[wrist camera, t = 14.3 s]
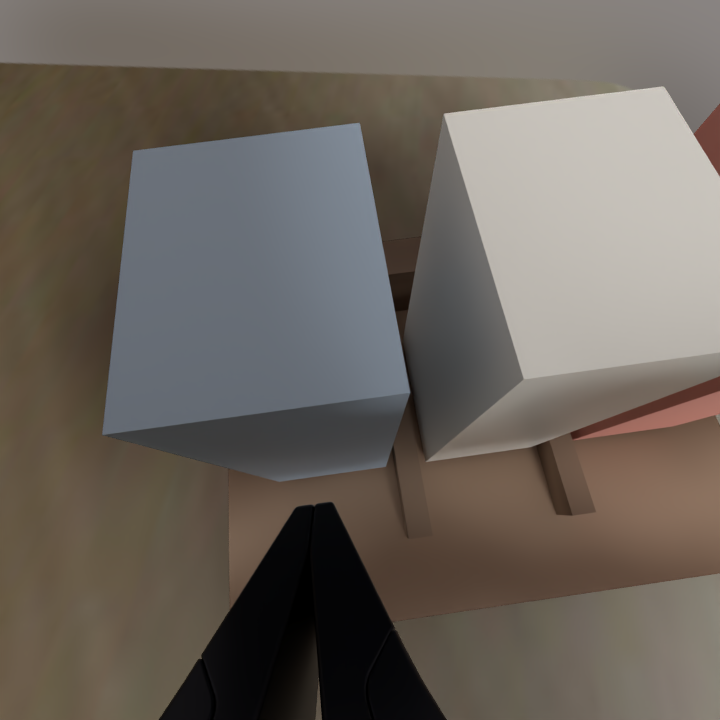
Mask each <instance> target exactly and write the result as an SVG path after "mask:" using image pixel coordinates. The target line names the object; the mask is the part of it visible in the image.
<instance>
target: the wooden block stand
mask: <svg viewBox="0 0 720 720" xmlns="http://www.w3.org/2000/svg"><path fill="white" fill-rule="evenodd" d="M420 242H421V237H414V238H406V239H398V240H391V241H383V242H382V244H383V250H384V255H385V261H386V266H387V271H388V277H389V282H390V287H391V293H392V298H393V303H394V309H395V314H396V319H397V325H398V330H399V335H400V341H401V346H402V351H403V357H404V362H405V367H406V373H407V378H408V383H409V389H410V395H409V398H408V401H407V404H406V407H405V410H404V413H403V416H402V419H401V422H400V425H399V428H398V431H397V434H396V437H395V440H394V443H393V446H392V449H391V452H390V455H389V458H388V461H387V464H386V467H381V468H374V469H367V470H359V471H352V472H345V473H338V474H331V475H324V476H317V477H310V478H303V479H296V480H288V481H281V482H278V481H274V480H271V479H267V478H263V477H259V476H255V475H252V474H248V473H244V472H240V471H237V470H233V469H229V468H228V486H229V598H230V609H231V608H232V606H233V604H234V603H235V601H236V600H237V598H238V597H239V595H240V593H241V592H242V590H243V589H244V587H245V586H246V584H247V582H248V581H249V579H250V578H251V576H252V575H253V573H254V571H255V570H256V568H257V567H258V565H259V564H260V562H261V560H262V559H263V557H264V556H265V554H266V553H267V551H268V549H269V548H270V546H271V545H272V543H273V542H274V540H275V538H276V537H277V535H278V534H279V532H280V531H281V529H282V527H283V526H284V524H285V523H286V521H287V520H288V518H289V516H290V515H291V513H292V512H293V510H294V509H295V508H296V507H297V506H302V505H309V504H312V505H314V506H315V505H316V504H317V503H324V502H333V503H334V505H335V507H336V509H337V511H338V513H339V515H340V517H341V519H342V521H343V523H344V525H345V527H346V529H347V531H348V533H349V535H350V537H351V539H352V541H353V544H354V546H355V548H356V550H357V552H358V554H359V556H360V558H361V560H362V562H363V564H364V566H365V568H366V570H367V572H368V574H369V576H370V578H371V580H372V582H373V584H374V586H375V588H376V590H377V592H378V594H379V596H380V598H381V600H382V602H383V604H384V606H385V609H386V611H387V613H388V615H389V617H390V619H391V621H392V622H395V621H402V620H408V619H415V618H422V617H429V616H435V615H442V614H449V613H456V612H462V611H469V610H476V609H482V608H489V607H496V606H503V605H509V604H516V603H523V602H530V601H536V600H543V599H550V598H557V597H563V596H570V595H577V594H583V593H590V592H597V591H604V590H610V589H617V588H624V587H631V586H637V585H644V584H651V583H658V582H664V581H671V580H678V579H684V578H691V577H698V576H705V575H711V574H718V573H720V425H719V423H718V421H717V419H716V416H715V415H714V416H710V417H706V418H703V419H699V420H695V421H691V422H688V423H684V424H680V425H676V426H672V427H665V428H658V429H651V430H644V431H637V432H630V433H623V434H616V435H608V436H601V437H594V438H587V439H580V440H572V437H571V434H570V433H567V434H565V435H562V436H559V437H557V438H554V439H551V440H549V441H546V442H543V443H541V444H538V445H535V446H533V447H529V448H522V449H515V450H508V451H501V452H494V453H486V454H479V455H472V456H465V457H458V458H451V459H444V460H437V461H430V462H425V457H424V452H423V446H422V441H421V436H420V431H419V425H418V420H417V415H416V409H415V404H414V399H413V394H412V388H411V383H410V378H409V372H408V367H407V362H406V357H405V351H404V346H403V336H404V330H405V325H406V319H407V314H408V308H409V303H410V297H411V291H412V286H413V280H414V275H415V269H416V264H417V258H418V253H419V247H420Z"/></svg>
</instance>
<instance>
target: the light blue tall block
mask: <svg viewBox="0 0 720 720" xmlns="http://www.w3.org/2000/svg"><path fill="white" fill-rule="evenodd" d="M409 395H410V389H409V383H408V378H407V373H406V367H405V362H404V357H403V351H402V346H401V341H400V335H399V330H398V325H397V319H396V314H395V309H394V303H393V298H392V293H391V287H390V282H389V277H388V271H387V266H386V261H385V255H384V250H383V244H382V239H381V234H380V228H379V223H378V218H377V212H376V207H375V202H374V196H373V191H372V186H371V180H370V175H369V170H368V164H367V159H366V154H365V148H364V143H363V138H362V132H361V127H360V123H354V124H346V125H338V126H330V127H322V128H314V129H306V130H298V131H289V132H281V133H273V134H265V135H257V136H249V137H241V138H233V139H225V140H217V141H209V142H200V143H192V144H184V145H176V146H168V147H160V148H152V149H144V150H136V151H133V158H132V167H131V176H130V185H129V194H128V204H127V213H126V222H125V231H124V240H123V249H122V259H121V268H120V277H119V286H118V295H117V305H116V314H115V323H114V332H113V341H112V350H111V360H110V369H109V378H108V387H107V396H106V406H105V415H104V424H103V433H102V435H104V436H108V437H112V438H116V439H119V440H123V441H127V442H131V443H135V444H138V445H142V446H146V447H150V448H153V449H157V450H161V451H165V452H169V453H172V454H176V455H180V456H184V457H187V458H191V459H195V460H199V461H203V462H206V463H210V464H214V465H218V466H221V467H225V468H229V469H233V470H237V471H240V472H244V473H248V474H252V475H255V476H259V477H263V478H267V479H271V480H274V481H278V482H281V481H288V480H296V479H303V478H310V477H317V476H324V475H331V474H338V473H345V472H352V471H359V470H367V469H374V468H381V467H386V464H387V461H388V458H389V455H390V452H391V449H392V446H393V443H394V440H395V437H396V434H397V431H398V428H399V425H400V422H401V419H402V416H403V413H404V410H405V407H406V404H407V401H408V398H409Z"/></svg>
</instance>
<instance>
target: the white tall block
mask: <svg viewBox="0 0 720 720" xmlns="http://www.w3.org/2000/svg"><path fill="white" fill-rule="evenodd" d="M403 346H404V351H405V357H406V362H407V367H408V372H409V378H410V383H411V388H412V394H413V399H414V404H415V409H416V415H417V420H418V425H419V431H420V436H421V441H422V446H423V452H424V457H425V462H430V461H437V460H444V459H451V458H458V457H465V456H472V455H479V454H486V453H494V452H501V451H508V450H515V449H522V448H529V447H533V446H535V445H538V444H541V443H543V442H546V441H549V440H551V439H554V438H557V437H559V436H562V435H565V434H567V433H570V432H573V431H575V430H578V429H581V428H583V427H586V426H589V425H591V424H594V423H597V422H599V421H602V420H605V419H607V418H610V417H613V416H615V415H618V414H621V413H623V412H626V411H629V410H631V409H634V408H637V407H639V406H642V405H645V404H647V403H650V402H653V401H655V400H658V399H661V398H663V397H666V396H669V395H671V394H674V393H677V392H679V391H682V390H685V389H687V388H690V387H693V386H695V385H698V384H701V383H703V382H706V381H709V380H711V379H714V378H717V377H719V376H720V176H719V175H718V173H717V172H716V170H715V168H714V167H713V165H712V163H711V162H710V160H709V159H708V157H707V155H706V154H705V152H704V151H703V149H702V147H701V146H700V144H699V143H698V141H697V139H696V138H695V136H694V134H693V133H692V131H691V130H690V128H689V126H688V125H687V123H686V122H685V120H684V119H683V117H682V115H681V113H680V112H679V110H678V109H677V107H676V105H675V104H674V102H673V101H672V99H671V97H670V96H669V94H668V93H667V91H666V89H665V88H664V87H656V88H647V89H639V90H631V91H623V92H615V93H607V94H599V95H591V96H583V97H575V98H567V99H558V100H550V101H542V102H534V103H526V104H518V105H510V106H502V107H494V108H486V109H478V110H469V111H461V112H453V113H445V114H444V115H443V120H442V126H441V131H440V137H439V142H438V148H437V153H436V159H435V165H434V170H433V176H432V181H431V187H430V192H429V198H428V203H427V209H426V214H425V220H424V225H423V231H422V236H421V242H420V247H419V253H418V258H417V264H416V269H415V275H414V280H413V286H412V291H411V297H410V303H409V308H408V314H407V319H406V325H405V330H404V336H403Z"/></svg>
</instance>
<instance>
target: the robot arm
mask: <svg viewBox="0 0 720 720" xmlns="http://www.w3.org/2000/svg"><path fill="white" fill-rule="evenodd" d="M201 657H202V659H198V661H197V662H196V664H195V665H194V667H193V669H192V670H191V672H190V673H189V675H188V676H187V678H186V680H185V681H184V683H183V684H182V686H181V687H180V689H179V690H178V692H177V693H176V695H175V696H174V698H173V699H172V701H171V702H170V704H169V705H168V707H167V708H166V710H165V711H164V713H163V714H162V716H161V717H160V718H159V720H315V716H316V703H317V691H318V678H319V685H320V699H321V712H322V720H447V719H446V718H445V716H444V715H443V713H442V712H441V710H440V708H439V707H438V705H437V703H436V702H435V700H434V698H433V697H432V695H431V694H430V692H429V690H428V689H427V687H426V685H425V684H424V682H423V680H422V679H421V677H420V675H419V673H418V671H417V669H416V667H415V666H414V664H413V662H412V660H411V658H410V656H409V654H408V652H407V651H406V649H405V647H404V645H403V643H402V641H401V639H400V637H399V634H398V632H397V631H396V630H395V627H394V625H393V623H392V621H391V619H390V617H389V615H388V613H387V611H386V609H385V606H384V604H383V602H382V600H381V598H380V596H379V594H378V592H377V590H376V588H375V586H374V584H373V582H372V580H371V578H370V576H369V574H368V572H367V570H366V568H365V566H364V564H363V562H362V560H361V558H360V556H359V554H358V552H357V550H356V548H355V546H354V544H353V541H352V539H351V537H350V535H349V533H348V531H347V529H346V527H345V525H344V523H343V521H342V519H341V517H340V515H339V513H338V511H337V509H336V507H335V505H334V503H333V502H324V503H317V504H316V505H315V506H314V505H312V504H309V505H302V506H297V507H296V508H295V509H294V510H293V512H292V513H291V515H290V516H289V518H288V520H287V521H286V523H285V524H284V526H283V527H282V529H281V531H280V532H279V534H278V535H277V537H276V538H275V540H274V542H273V543H272V545H271V546H270V548H269V549H268V551H267V553H266V554H265V556H264V557H263V559H262V560H261V562H260V564H259V565H258V567H257V568H256V570H255V571H254V573H253V575H252V576H251V578H250V579H249V581H248V582H247V584H246V586H245V587H244V589H243V590H242V592H241V593H240V595H239V597H238V598H237V600H236V601H235V603H234V604H233V606H232V608H231V609H230V611H229V612H228V614H227V615H226V617H225V619H224V620H223V622H222V623H221V625H220V626H219V628H218V630H217V631H216V633H215V634H214V636H213V637H212V639H211V641H210V642H209V644H208V645H207V647H206V648H205V650H204V652H203V653H202V655H201Z"/></svg>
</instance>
